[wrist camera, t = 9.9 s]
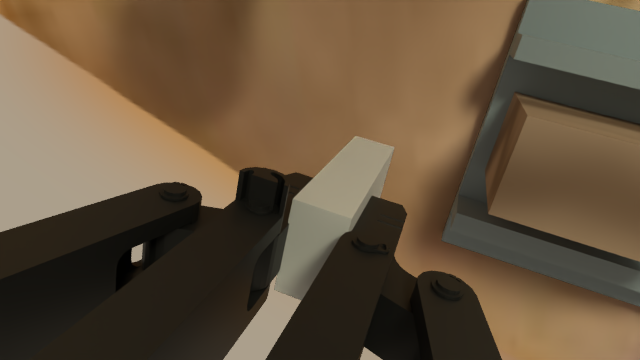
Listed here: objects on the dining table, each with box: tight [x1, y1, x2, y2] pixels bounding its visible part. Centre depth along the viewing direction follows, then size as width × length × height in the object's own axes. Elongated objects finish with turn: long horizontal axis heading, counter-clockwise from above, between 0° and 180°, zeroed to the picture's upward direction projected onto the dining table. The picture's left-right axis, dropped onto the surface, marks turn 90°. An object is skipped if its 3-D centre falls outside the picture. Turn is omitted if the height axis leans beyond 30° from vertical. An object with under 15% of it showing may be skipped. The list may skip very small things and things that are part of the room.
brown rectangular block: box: [485, 92, 640, 262], centre depth 23 cm, size 5×10×7 cm, turn 77°
